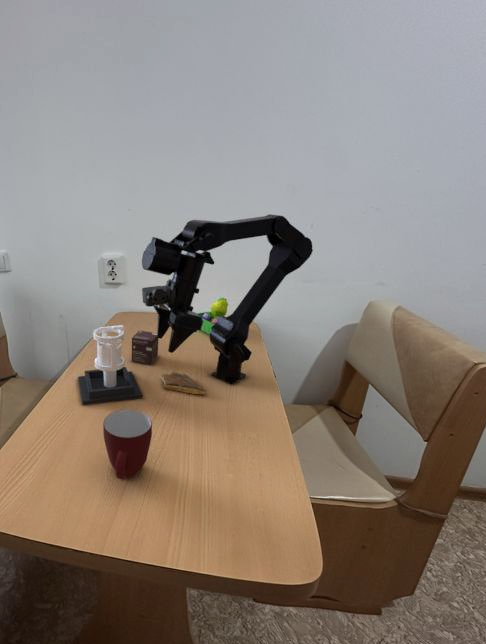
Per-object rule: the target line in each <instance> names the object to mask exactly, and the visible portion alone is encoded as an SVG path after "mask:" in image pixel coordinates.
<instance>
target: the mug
mask: <svg viewBox="0 0 486 644" xmlns="http://www.w3.org/2000/svg"><path fill="white" fill-rule="evenodd" d="M102 425H103V431H102V432H103V433H102V434H103V441H104V444H105V449H106V452H107V457H108V460H109V464H110V465H111V466H112V468H113V469H114V471H115V477H116V478H117V479H119V480H126V478H133V477H135V476H137V475H138V474H139V473H140V471H141V470H142V468H143V467H144V465H145V464H146V462H147V459H148V455H149V451H150V446H151V443H152V442H151V441H152V438H153V437H152V436H153V421H152V419H151V418H150V416H149V415H147V413H144V412H143V411H140V410H137V409H131V408H125V409H119V410H115V411H113V412H111V413H109V414H108V415H107V416H106V417H105V418H104V420H103V424H102Z"/></svg>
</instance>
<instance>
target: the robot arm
mask: <svg viewBox="0 0 486 644" xmlns="http://www.w3.org/2000/svg"><path fill="white" fill-rule="evenodd" d="M264 236H266V239H267V242H268V243H269V244H270V246H271V249H270V251H269V254H268V263H267V265H266V266H265V268H264V269H263V271H262V272H261V274H260V275H259V277H258V278H257V279H256V280H255V282H254V283H253V284H252V285H251V287H250V289H249V290H248V291H247V293H246V294H245V296H244V297H243V299H242V300H241V301H240V303H239V304H238V305H237V306H236V308H235V310H234V311H233V312H232V313H231V314H230V315H227V316H225V317H226V318H225V317H223V316H220V317H219V318H218V320H217V322H216V323H215V325H214V326H212V327H211V329H212V331H211V332H210V335H209V334H208V335H209V341H210V344H211V345H212V346H213V348H214V350H215V351H217V352H218V353H219V355H218V360H217V365H216V370H215V371H214V372H212V373H211V376H212V377H213V378H216V379H217V380H220V381H222V382H225V383H228V384H230V385H234V384H236V383H237V382H239V381H240V380H242V379H244V378H246V377H247V374H246V373H244V372H242V367H243V363H244V362H246V361H249V360H250V358H251V355H252V354H253V352H252V351H251V350H250V349H249V348H248V347H247V345H246V342H247V340H248V338H249V332H250V325H252V323H253V321H254V320H255V319H256V317H257V316H258V314H259V313H260V312H261V311H262V309H263V308H264V307H265V305H266V304H267V302H268V301H269V299H270V298H271V297H272V296H273V294H274V293H275V291H276V290H277V289H278V288H279V286H280V285H281V284H282V282H283V281H284V279H285V278H286V277H287V276H288V275H290V274H291V273H293V272H295V271H296V270H298V269H300V268H301V267H302V266H303V265H304V264H305V263H306V262H307V261H308V260H309V259H310V257H312V254H313V251H314V249H313V242H312V240H311V238H309V237H307V236H305V235H304V233H302V231H300V230H299V229H298V228H296V227H295V226H294V225H292V224H291V223H290V222H289V220H288V219H287V218H286V217H285V216H284V215H280V214H279V215H278V214H267V215H263V216H255V217H249V218H242V219H234V220H228V221H216V220H204V219H192V220H189V221H187V222H186V224H185V226H183V230H182V231H180V232H179V233H178V234H177V235H176V236H175V237H173V238H172V239H171V240H170V241H166V240H163V239H161V238H158V237H155V236H153V237H151V241H150V243H148V244H147V246H146V248H145V250H144V251H143V252H142V257H141V267H142V269H143V270H144V271H149V272H152V273H156V274H161V275H165V276H171V275H172V278H168V280H167V281H166V284H165V285H155V286H147V287H142V288H141V292H142V295H141V296H142V303H143V304H144V305H145V306H146V307H148V308H149V307H153V309H154V310H155V312H156V314H157V329H156V330H157V331H156V333H157V337H158V338H159V340H160V339H163V337H164V336H165V334H166V333H167V332H168V330H169V329H170V328H171V332H170V338H169V342H168V349H167V352H168V353H170V354H173V353H174V352H175V351H176V350H177V349H178V348H179V347H180V346H182V344H183V343H184V342H185V341H186V340H187V339H188V338H190V337H191V336H192V335H193V334H194V333H197V332H198V331H202V330H201V328H202V325H203V320H202V318H201V317H200V316H199V315H198V314H197V312H196V311H194V307H193V306H192V303H193V300H194V297H195V294H197V295H199V293H200V290H201V289H200V288H198V286H199V282H200V279H201V276H202V274H203V270H204V267H205V264H209V265H211V266H213V265H215V261H214V258H212V255H211V252H210V251H211V250H215V249H217V248H220V247H222V246H223V245H225V244H226V243H228V242H232V241H238V240H244V239H251V238H257V237H258V238H259V237H264ZM199 251H201V252H199ZM183 252H186V253H183Z"/></svg>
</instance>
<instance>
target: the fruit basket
mask: <svg viewBox="0 0 486 644" xmlns="http://www.w3.org/2000/svg"><path fill="white" fill-rule="evenodd" d="M227 300H228V299H227V298H225V297H219V298H218V299H217V300H216V301H215V302H213V303H212V304H211V305H210V311H204V312H198V313H197V312H196V313H197V314H198V315H199V316H200V317H201V318H202V320H203V325H202V328H201V330H200V331H202V332H204V333H206V334H207V335H210V332H211V331H212V329H211V327H212V326H214V325H215V323H216V322H217V320H218V318H219V317H220V316H223V317H225V318H226V317H227V316H226V315H227V313H228V307H229V303H228V301H227Z"/></svg>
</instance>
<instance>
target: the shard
mask: <svg viewBox="0 0 486 644" xmlns="http://www.w3.org/2000/svg"><path fill="white" fill-rule="evenodd" d="M159 378H160V379H161V380H162V382H163V388H164V389H165V390H171V391H172V390H173V391H177V392H181V393H186V394H193V395H205V392H207V390H206V389H205V388H203V387H202V386H200V385H199V384H198V383H197V382H196V381H195V380H194V379H193V378H191V377H190V376H189V375H187V374H185V373H184V372H183V371H182V372H181V371H173V372H168V373H163V374H161V375H159Z"/></svg>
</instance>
